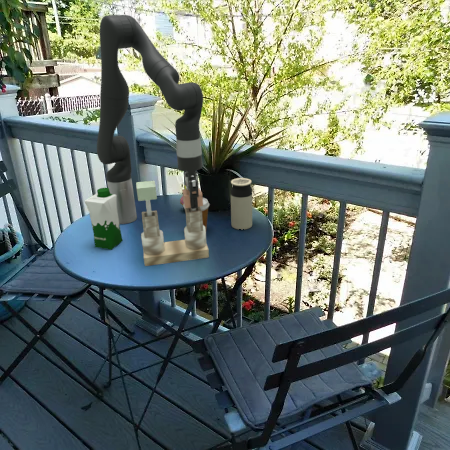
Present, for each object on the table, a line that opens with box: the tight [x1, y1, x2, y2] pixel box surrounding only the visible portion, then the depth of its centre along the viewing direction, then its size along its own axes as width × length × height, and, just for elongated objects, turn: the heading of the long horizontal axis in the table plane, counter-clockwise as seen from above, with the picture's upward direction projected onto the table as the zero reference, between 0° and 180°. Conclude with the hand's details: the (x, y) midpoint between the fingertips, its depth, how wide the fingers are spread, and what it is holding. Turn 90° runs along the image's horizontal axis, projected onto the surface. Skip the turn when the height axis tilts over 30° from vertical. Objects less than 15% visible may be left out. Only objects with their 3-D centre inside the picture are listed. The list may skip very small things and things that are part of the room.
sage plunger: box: [135, 180, 158, 216], centre depth 125 cm, size 6×6×11 cm
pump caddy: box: [140, 207, 210, 267], centre depth 131 cm, size 21×9×16 cm, turn 102°
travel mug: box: [230, 177, 253, 230], centre depth 149 cm, size 8×8×18 cm
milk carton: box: [84, 187, 123, 251], centre depth 139 cm, size 9×9×20 cm
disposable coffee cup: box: [182, 197, 210, 230], centre depth 148 cm, size 10×10×12 cm
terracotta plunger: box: [181, 188, 204, 211], centre depth 129 cm, size 6×6×11 cm
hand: (193, 204), depth 128 cm, fingers closed on terracotta plunger, 5 cm apart
